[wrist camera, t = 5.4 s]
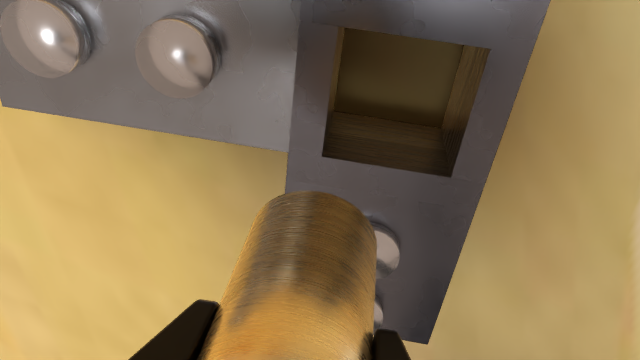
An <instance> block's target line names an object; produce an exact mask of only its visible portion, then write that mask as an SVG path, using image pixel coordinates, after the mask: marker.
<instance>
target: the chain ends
mask: <svg viewBox="0 0 640 360" xmlns="http://www.w3.org/2000/svg"><path fill="white" fill-rule="evenodd" d="M550 1H551V0H0V99H1V102H2V106H4V107H10V108H16V109H22V110H29V111H35V112H41V113H47V114H53V115H60V116H66V117H72V118H78V119H84V120H90V121H97V122H103V123H109V124H115V125H121V126H128V127H134V128H140V129H146V130H152V131H158V132H165V133H171V134H177V135H183V136H189V137H196V138H202V139H208V140H214V141H220V142H226V143H233V144H239V145H245V146H251V147H257V148H264V149H270V150H276V151H282V152H288V163H287V175H286V187H285V194H286V193H290V192H295V191H320V192H325V193H329V194H332V195H335V196H338V197H340V198H342V199H344V200H346V201H348V202H349V203H351V204H352V205H354V206H355V207H356V208H358V209H359V210H360V211H361V212H362V213H363V214H364V215H365V216H366V218H367V219H368V220H369V222H370V223H371V225H372V227H373V229H374V232H375V235H376V239H377V259H376V281H375V303H374V325H373V335H374V333H375V330H376V329H378V328H382V329H389V330H394V331H396V332H398V334H399V335H400V337H401V339H402V340H405V341H411V342H417V343H422V344H428V342H429V339H430V337H431V334H432V331H433V328H434V325H435V323H436V320H437V317H438V314H439V311H440V309H441V306H442V303H443V300H444V297H445V295H446V292H447V289H448V286H449V283H450V281H451V278H452V275H453V272H454V269H455V267H456V264H457V261H458V258H459V255H460V253H461V250H462V247H463V244H464V241H465V239H466V236H467V233H468V230H469V227H470V225H471V222H472V219H473V216H474V213H475V211H476V208H477V205H478V202H479V199H480V197H481V194H482V191H483V188H484V185H485V183H486V180H487V177H488V174H489V171H490V169H491V166H492V163H493V160H494V157H495V155H496V152H497V149H498V146H499V143H500V141H501V138H502V135H503V132H504V129H505V127H506V124H507V121H508V118H509V115H510V113H511V110H512V107H513V104H514V101H515V99H516V96H517V93H518V90H519V87H520V85H521V82H522V79H523V76H524V73H525V71H526V68H527V65H528V62H529V59H530V57H531V54H532V51H533V48H534V45H535V43H536V40H537V37H538V34H539V31H540V29H541V26H542V23H543V20H544V17H545V15H546V12H547V9H548V6H549V3H550ZM345 27H346V28H352V29H359V30H366V31H373V32H380V33H386V34H393V35H400V36H407V37H414V38H420V39H427V40H434V41H441V42H448V43H454V44H461V45H464V48H463V51H462V55H461V59H460V62H459V66H458V70H457V73H456V77H455V80H454V84H453V88H452V91H451V95H450V99H449V102H448V106H447V109H446V113H445V117H444V120H443V124H442V127H441V128H437V127H431V126H425V125H418V124H412V123H405V122H399V121H393V120H386V119H380V118H373V117H367V116H361V115H354V114H348V113H341V112H335V111H334V104H335V97H336V90H337V82H338V75H339V68H340V60H341V53H342V46H343V38H344V31H345Z"/></svg>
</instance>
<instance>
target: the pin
mask: <svg viewBox="0 0 640 360" xmlns="http://www.w3.org/2000/svg"><path fill="white" fill-rule="evenodd" d="M376 259H377V239H376V235H375V232H374V229H373V227H372V225H371V223H370V222H369V220H368V219H367V218H366V216H365V215H364V214H363V213H362V212H361V211H360V210H359V209H358V208H356V207H355V206H354V205H352V204H351V203H349V202H348V201H346V200H344V199H342V198H340V197H338V196H335V195H332V194H329V193H325V192H320V191H295V192H290V193H286V194H283V195H281V196H278V197H276V198H274V199H273V200H271V201H270V202H268V203H267V204H266V205H265V206H264V207H263V208H262V209H261V210H260V211H259V212H258V214H257V215H256V217H255V220H254V222H253V224H252V227H251V229H250V232H249V234H248V236H247V239H246V241H245V244H244V246H243V249H242V251H241V253H240V256H239V258H238V261H237V263H236V266H235V268H234V270H233V273H232V275H231V278H230V280H229V283H228V285H227V287H226V290H225V292H224V295H223V297H222V300H221V302H220V305H219V307H218V309H217V312H216V314H215V317H214V319H213V322H212V324H211V326H210V329H209V331H208V334H207V336H206V339H205V341H204V343H203V346H202V348H201V351H200V353H199V356H198V358H197V360H372V347H373V325H374V303H375V281H376Z"/></svg>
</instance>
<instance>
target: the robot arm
mask: <svg viewBox="0 0 640 360" xmlns="http://www.w3.org/2000/svg"><path fill="white" fill-rule="evenodd" d="M218 307H219V304H218V303H217V302H215V301H209V300H202V299H199V300H197V301H195V302H194V303H193V304H192V305H190V306H189V307H188V308H187V309H186V310H185V311H184V312H182V313H181V314H180V315H179V316H178V317H177V318H176V319H174V320H173V321H172V322H171V323H170V324H169V325H167V326H166V327H165V328H164V329H163V330H162V331H161V332H159V333H158V334H157V335H156V336H155V337H154V338H153V339H151V340H150V341H149V342H148V343H147V344H146V345H145V346H143V347H142V348H141V349H140V350H139V351H138V352H137V353H135V354H134V355H133V356H132V357H131V358H130V359H128V360H197V358H198V356H199V353H200V351H201V348H202V346H203V343H204V341H205V339H206V336H207V334H208V331H209V329H210V326H211V324H212V322H213V319H214V317H215V314H216V312H217V309H218ZM372 360H411V359H410V357H409V354H408V352H407V350H406V348H405V346H404V344H403V342H402V339H401V337H400V335H399V334H398V332H396V331H394V330H389V329H382V328H378V329H376V330H375V333H374V337H373V347H372Z"/></svg>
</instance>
